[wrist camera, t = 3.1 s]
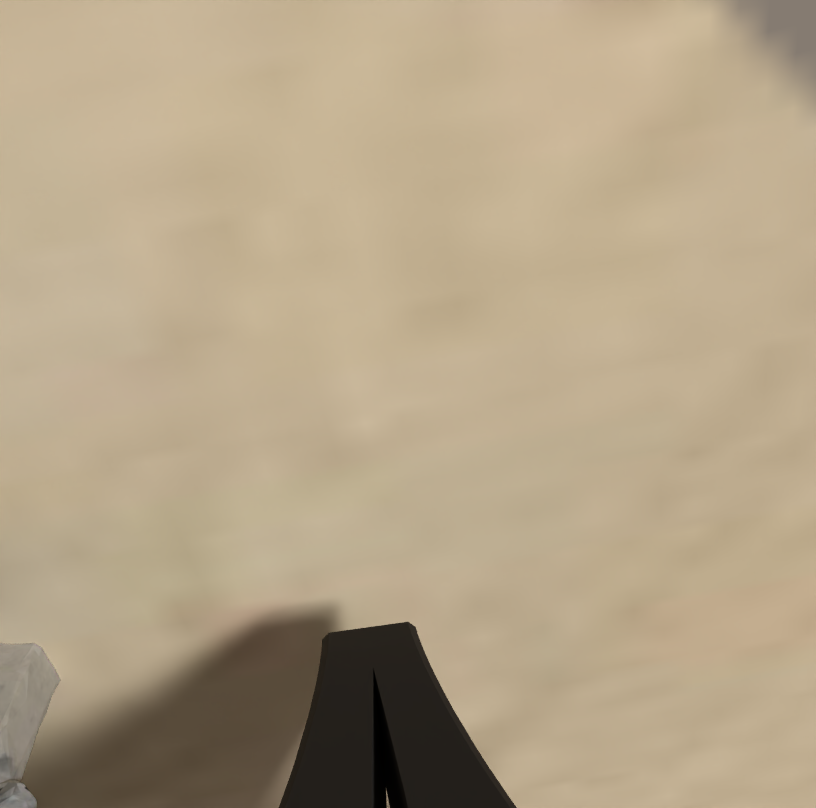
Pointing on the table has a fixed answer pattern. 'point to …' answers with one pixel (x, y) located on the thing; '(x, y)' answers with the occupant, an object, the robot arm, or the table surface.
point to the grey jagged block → (21, 715)
